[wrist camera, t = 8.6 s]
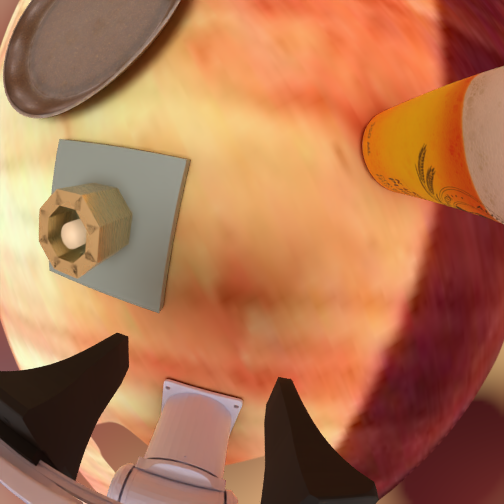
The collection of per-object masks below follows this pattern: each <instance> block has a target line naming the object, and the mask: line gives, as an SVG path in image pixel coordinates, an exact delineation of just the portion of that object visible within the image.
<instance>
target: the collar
mask: <svg viewBox="0 0 504 504" xmlns="http://www.w3.org/2000/svg"><path fill="white" fill-rule="evenodd" d="M132 215H133V214H132V212H131V210H130V209H129V207H128V205H127V203H126V202H125V200H124V198H123V196H122V195H121V193H120V191H119V189H118V188H116V187H111V186H107V185H102V184H98V183H89V184H83V185H77V186H71V187H65V188H60V189H56V191H55V192H54V193H53V194H52V195H51V196H50V197H49V199H48V200H47V201H46V202H45V203H44V204H43V206H42V207H41V208H40V214H39V242H40V244H41V246H42V248H43V250H44V252H45V254H46V255H47V257H48V259H49V261H50V263H51V264H52V266H53V268H54V269H55V270H58V271H60V272H62V273H65V274H67V275H69V276H72V277H74V278H77V279H78V278H80V277H81V276H83V275H84V274H86V273H87V272H89V271H90V270H92V269H93V268H95V267H96V266H98V265H99V264H101V263H102V262H104V261H105V260H107V259H109V258H110V257H111V256H113V255H114V254H115V253H117V252H118V251H119V250H121V249H122V248H124V247H125V246H126V245H128V244H129V238H130V230H131V222H132ZM77 219H81V221H82V223H83V225H84V227H85V228H86V230H87V231H86V243H85V244H83V245H81V246H79V247H77V248H75V249H69V248H68V247H66V245H65V244H64V243H63V240H62V237H61V231H62V227H63V226H64V225H65V224H66V223H68V222H71V221H74V220H77Z"/></svg>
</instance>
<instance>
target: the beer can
mask: <svg viewBox="0 0 504 504" xmlns="http://www.w3.org/2000/svg"><path fill="white" fill-rule="evenodd" d="M362 148H363V156H364V160H365V163H366V166H367V168H368V170H369V171H370V173H371V175H372V176H373V177H374V179H375V180H376V181H377V182H378V183H379V184H381V185H382V186H383V187H385V188H386V189H388V190H391V191H393V192H397V193H402V194H406V195H410V196H414V197H418V198H421V199H425V200H429V201H433V202H436V203H440V204H443V205H447V206H450V207H454V208H457V209H460V210H463V211H467V212H470V213H473V214H476V215H479V216H482V217H485V218H488V219H491V220H494V221H497V222H499V223H502V224H504V66H502V67H499V68H496V69H492V70H489V71H486V72H483V73H480V74H477V75H474V76H471V77H468V78H465V79H463V80H460V81H457V82H454V83H451V84H449V85H446V86H443V87H441V88H438V89H436V90H433V91H431V92H428V93H426V94H423V95H421V96H418V97H416V98H413V99H411V100H408V101H406V102H404V103H401V104H399V105H397V106H394V107H392V108H390V109H388V110H385V111H383V112H381V113H379V114H377V115H376V116H375V117H374V118H373V119H372V120H371V121H370V122H369V124H368V125H367V127H366V129H365V132H364V135H363V143H362Z"/></svg>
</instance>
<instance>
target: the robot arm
mask: <svg viewBox="0 0 504 504" xmlns="http://www.w3.org/2000/svg"><path fill="white" fill-rule="evenodd" d="M128 368H129V354H128V336H125V335H122V334H120V333H116V334H114V335H112V336H110V337H108V338H107V339H105V340H103V341H101V342H99V343H98V344H96V345H94V346H92V347H90V348H88V349H86V350H85V351H83V352H81V353H78V354H76V355H74V356H72V357H70V358H67V359H65V360H62V361H59V362H56V363H53V364H50V365H46V366H42V367H38V368H34V369H28V370H20V371H2V372H1V371H0V483H2V484H3V485H4V486H5V487H6V488H8V489H9V490H10V491H11V492H12V493H14V494H15V495H16V496H17V497H19V498H20V499H21V500H23V501H24V502H25V503H27V504H83V502H85V503H87V504H238V500H237V497H236V496H235V495H234V494H233V492H232V491H231V490H226V489H225V484H226V480H224V479H223V472H224V466H225V459H226V453H227V446H228V440H229V435H230V433H231V431H232V428H233V426H234V424H235V421H236V419H237V417H238V414H239V412H240V409H241V407H242V404H243V401H242V400H241V399H239V398H235V397H231V396H227V395H222V394H218V393H215V392H211V391H207V390H203V389H200V388H196V387H193V386H189V385H186V384H183V383H180V382H177V381H173V380H170V379H166V380H165V381H164V385H163V396H162V409H161V416H160V418H159V421H158V423H157V426H156V428H155V431H154V433H153V436H152V438H151V441H150V443H149V446H148V448H147V451H146V453H145V456H144V458H143V457H139V458H138V461H137V463H136V465H135V464H132V463H128V464H126V465H124V466H121V467H120V468H119V469H118V470H117V472H116V473H115V475H114V477H113V479H112V481H111V484H110V487H109V490H108V494H107V496H104V495H102V494H100V493H98V492H96V491H94V490H92V489H90V488H87V487H86V486H84V485H81V484H80V483H78V482H76V477H77V473H78V470H79V467H80V463H81V460H82V457H83V454H84V452H85V449H86V446H87V444H88V441H89V439H90V437H91V434H92V432H93V430H94V428H95V425H96V423H97V421H98V419H99V417H100V416H101V414H102V412H103V411H104V409H105V408H106V406H107V405H108V403H109V402H110V400H111V398H112V397H113V395H114V394H115V392H116V391H117V389H118V388H119V386H120V385H121V383H122V381H123V379H124V377H125V375H126V372H127V370H128ZM168 386H169V387H168ZM236 405H238V406H236ZM264 427H265V473H264V483H263V490H262V498H261V504H376V503H377V501H378V500H379V499H378V494H377V489H376V486H375V483H374V482H373V481H372V480H370V479H369V478H367V477H366V476H364V475H363V474H361V473H360V472H359V471H357V470H356V469H355V468H354V467H352V466H351V465H350V464H349V463H348V462H346V461H345V460H344V459H343V458H342V457H341V456H340V455H339V454H338V453H337V452H336V451H335V450H334V449H333V448H332V447H331V445H330V444H329V443H328V442H327V441H326V439H325V438H324V437H323V435H322V434H321V433H320V431H319V430H318V428H317V427H316V425H315V424H314V422H313V421H312V419H311V417H310V416H309V414H308V412H307V410H306V408H305V407H304V405H303V403H302V401H301V399H300V397H299V395H298V392H297V390H296V388H295V386H294V384H293V381H292V380H291V379H287V378H281V377H278V379H277V382H276V384H275V386H274V389H273V391H272V393H271V395H270V398H269V400H268V402H267V404H266V412H265V422H264ZM73 496H74V497H73ZM75 497H76V498H75ZM78 499H79V500H78ZM80 500H81V501H83V502H81V501H80Z"/></svg>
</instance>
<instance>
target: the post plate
mask: <svg viewBox="0 0 504 504" xmlns="http://www.w3.org/2000/svg"><path fill="white" fill-rule="evenodd" d="M190 161H191V160H189V159H184V158H179V157H174V156H169V155H164V154H159V153H154V152H148V151H143V150H137V149H131V148H125V147H118V146H112V145H105V144H98V143H90V142H82V141H74V140H63V139H59V144H58V150H57V155H56V162H55V169H54V176H53V184H52V194H53V193H54V192H55V191H56V189H60V188H65V187H71V186H77V185H83V184H89V183H98V184H102V185H107V186H111V187H116V188H118V189H119V191H120V193H121V195H122V196H123V198H124V200H125V202H126V203H127V205H128V207H129V209H130V210H131V212H132V214H133V215H132V222H131V230H130V238H129V244H128V245H126V246H125V247H124V248H122V249H121V250H119V251H118V252H117V253H115V254H114V255H113V256H111V257H110V258H109V259H107V260H105V261H104V262H102V263H101V264H99V265H98V266H96V267H95V268H93V269H92V270H90V271H89V272H87V273H86V274H84V275H83V276H81V277H80V278H78V279H77V278H74V277H72V276H69V275H67V274H65V273H62V272H60V271H58V270H55V269H54V268H53V266H52V264H51V263H50V261H49V268H50V271H52V272H54V273H57V274H59V275H61V276H63V277H66V278H68V279H70V280H73V281H75V282H77V283H80V284H82V285H85V286H87V287H89V288H92V289H94V290H97V291H99V292H102V293H105V294H107V295H110V296H112V297H115V298H118V299H120V300H123V301H126V302H129V303H131V304H134V305H137V306H140V307H143V308H146V309H148V310H151V311H154V312H157V313H159V312H160V311H161V309H162V308H163V304H164V296H165V289H166V282H167V276H168V269H169V263H170V257H171V251H172V246H173V240H174V235H175V229H176V224H177V219H178V214H179V209H180V205H181V200H182V195H183V191H184V186H185V182H186V177H187V173H188V169H189V165H190ZM52 194H51V195H52ZM86 231H87V230H86V228H85V227H84V225H83V223H82V221H81V219H77V220H74V221H71V222H68V223H66V224H65V225H64V226H63V227H62V231H61V237H62V240H63V243H64V244H65V245H66V247H68V248H69V249H75V248H77V247H79V246H81V245H83V244H85V243H86Z"/></svg>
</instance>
